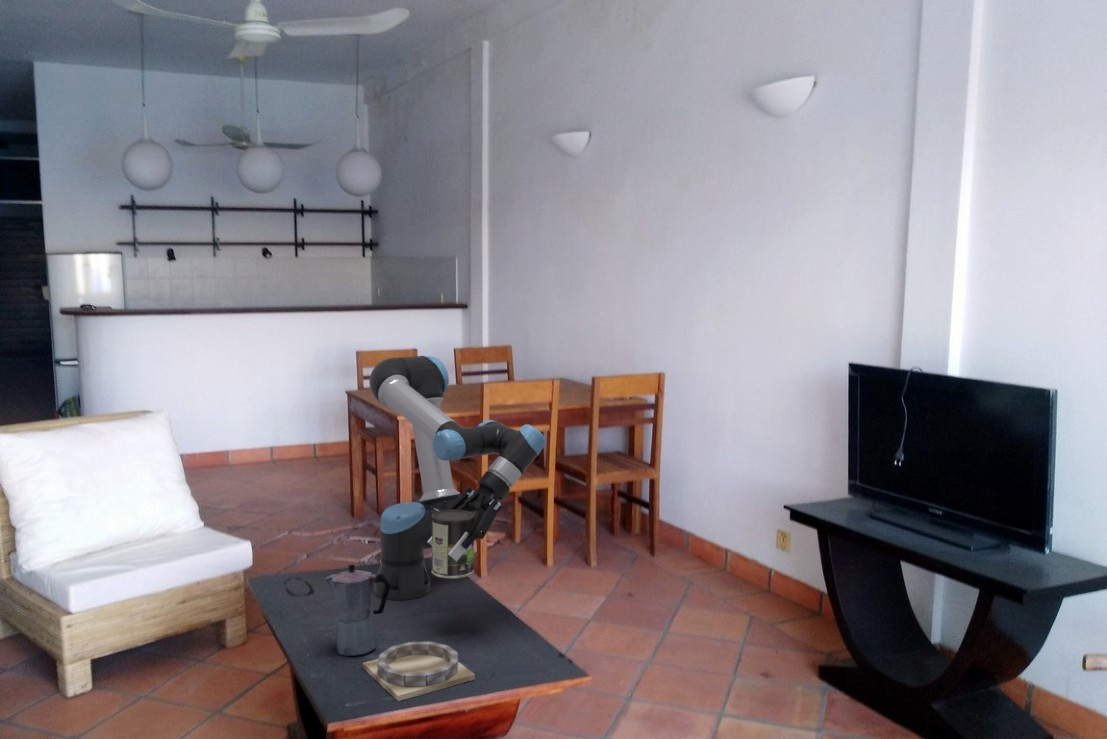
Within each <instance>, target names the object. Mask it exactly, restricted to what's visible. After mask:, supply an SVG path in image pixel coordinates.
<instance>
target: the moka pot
mask: <svg viewBox="0 0 1107 739" xmlns="http://www.w3.org/2000/svg"><path fill="white" fill-rule="evenodd" d="M347 567H348V568H347V569H348V570H346V571H341V572H339V573H335V574H329V576H327V577H325V579H324V581H326V582H327V583H328V586H329V588H330V589H331V592H332V593H333V595H334V600H335V605H336V611H337V617H338V626H337V640H336V641H337V642H336V652H337V653H338V654H339V655H341V656H345V657H349V656H350V657H351V656H352V657H354V656H360V655H365V654H368V653H370V652H371V651H373V650H375V649H376V642H375V638H374V632H373V626H372V621H371V604H372V591H373V584H375V583H379V582H383V583H384V584H385V587H384V591H383V595H382V597H381V599H380V605H379V606H378V609H373V610H372V614H373V615H379V614H383V613H384V608H385V607H386V602H387V600H388V599H387V596H388V593H389V590H390V583H389V582H388V580H387V579H385V577H384V576H383V574H378V573H377V574H378V575H377V574H374V573H372V572H371V571H368V570H367V571H365V570H361V569H360V570H359V569H356V570H355V568H356V564H349V565H348V566H347Z"/></svg>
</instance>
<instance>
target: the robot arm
mask: <svg viewBox="0 0 1107 739" xmlns="http://www.w3.org/2000/svg"><path fill="white" fill-rule="evenodd" d="M449 379H450V378H449V373H448V370H447V368H446V365H445V364H444V363H443V361H441V360H440V359H439V358H438V357H435V356H432V355H431V356H430V355H427V356H426V355H417V356H405V357H404V356H403V357H390V358H386V359H383V360H381V361H380V362H379V363H377V364H376V365H375V366H374V368H373V369H372V371H371V374H370V376H369V383H368V384H369V389H370V392H371V394H372V395H373V397H374V398H375V400H377V402H379V403H380V404H381V405H382V406H384V407H387V408H392V409H394V411H395V412H397V413H398V414H400V415H401V417H403V418H404V419H405V420H406V421H407V422H409V423H410V425H411V426H412V432H413V438H414V442H415V444H414V445H415V450H416V456H417V462H418V468H419V473H420V478H421V479H420V480H421V485H422V491H423V493H422V496H421V497H420V499H419V500H418V501H419V502H416V501H410V502H399V503H396V504H393V505H390V506H388V507H387V508H385V509H384V511H383V512H382V514H381V518H380V519H381V520H380V526H379V528H380V566H379V568H378V570H377V571H378V572H377V574H376V575H378V574H383V576H384V577H385V579H387V580H388V582H389V583H390V590H389V593H388V596H387V599H386V600H395V601H405V600H407V601H408V600H412V599H413V600H414V599H418V598H421V597H423V596H425V595H427V594H428V593H429V592H430V591H431V580H430V576H429V574H428V573H429V572H428V570H427V568H426V564H425V550H427V549H432V514H433V513H435V512H438V511H442V510H452V509H456V510H466V511H470V512H472V513H474V512H475V513H474V514H475V516H474V519H473V522H472V524H471V527H470V529H469V530H467V532H468V533H469V534H468V533H467V532H465V533H464V535H463V536H462V537H461V538H460V540H459V541H458V542H457V543H456V545H455V546H454V547H453V549H452V550H451V551H450V552H449V555H450V556H451V557H452V558H453V559H454V560H455V561H458V559H459V558H460V557H461V555H462V554H463V553H464V552H465V550H466V549H467V548H468V547H469V546H470V545H471V544H472V542H473V541H474V542H475V541H476V540H478V539H480V540H483V539H484V538H485V536H486V535H487V532H488V531H489V529H490V527H491V525H492V524H493V522H494V520H495V517H496V516H497V514H498V513H499V512H500V511H501V509H502V508H503V505H502V503H500V502H499V501H503V500H504V499H505V498H506V496H507V495H508V493H509V492H510V489H511V488H513V486H514V485H515V484H516V483H517V481H519V479H520V478H521V477H522V475H523V474H524V473H525V471H526V470H527V469H528V468H529V467H530V466H531V464H533V462H534V461H535V459H536V458H537V457H538V456H539V455H540V453H541V451H542V450H543V448H544V446H546V444H547V440H546V436H544V434H542V432H541V431H540V430H539V429H537V428H536V427H534V426H533V425H531V424H528V423H527V424H524V425H522V427H520V428H519V429H513V428H511V427H510V426H507V425H505V424H503V423H501V422H499V421H497V420H492V419H486V420H483V421H482V422H481V423H479V424H478V425H476V426H470V427H468V426H467V427H463V426H461V425H460V424H458V423H457V422H456V421H455V420H453V419H452V418H451V417H449V415H447V414H446V413H445V412H444V411H442V410H441V407H440V406H441V403H442V402H443V401H444V394H445V393H446V392H447V390H448V389H449V384H450V380H449ZM493 454H495V455H498V456H497V458H495V459H494V461H493V462H492V463H491V465H490V466H488V470H487V471H485V472H484V473H483V474H482V475H481V477H480V478H479V479H478V485H479V487H478V488H476V489H475V490H473V489H472V488H471V487H468V488H467V489H466V490H465V492H464V493H463V494H462V495H461V493H460V492H459V491H458V490H457V489H455V487H454V483H453V482H454V481H453V476H452V471H451V465H450V461H457V460H462V459H467V458H473V457H481V456H487V455H493ZM373 584H374V585H373V587H374V591H373V592H374V594H375V595H376V596H377V597H380V598H382V595H383V591H384V587H385V584H384V583H383V582H379V583H373Z"/></svg>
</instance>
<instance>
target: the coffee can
mask: <svg viewBox="0 0 1107 739" xmlns="http://www.w3.org/2000/svg"><path fill="white" fill-rule="evenodd" d="M474 516H475V513H474V512H470V511H466V510H456V509H452V510H442V511H438V512H435V513H433V514H432V548H431V574H432V575H433V576H435V577H438V578H442V579H450V580H451V579H452V580H453V579H462V578H466V577H469V576H471V575H473V574H474V571H475V569H474V566H475V564H474V563H475V562H474V561H475V560H474V558H475V540H474V541H473V542H472V544H471V545H470V546H469V547H468V548H467V549H466V550H465V552H464V553H463V554H462V555H461V557H460V558H459V559H458V561H455V560H454V559H453V558H452V557H451V556H450V555H449V552H450V551H451V550H452V549H453V547H454V546H455V545H456V543H457V542H458V541H459V540H460V538H461V537H462V536H463V535H464V533H465V532H467V530H469V529H470V527H471V524H472V522H473V519H474ZM467 533H468V532H467ZM468 534H469V533H468Z"/></svg>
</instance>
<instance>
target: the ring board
mask: <svg viewBox="0 0 1107 739" xmlns="http://www.w3.org/2000/svg"><path fill="white" fill-rule="evenodd" d="M458 657H459V653H458V652H457V651H456V650H455V649H454V648H452V647H451V646H449V645H446V644H443V643H438V642H434V641H411V642H405V643H400V644H397V645H392V646H390V647H389V648H387V649H385V650H384V651H383V652H381V653H380V654H379V656H378V658H376V659H373V660H368V661H365V662H362V669H363V670H364V671H365V672H366V673H368V674H369V675H370V676H371V678H373V679H374V680H375V681H376V683H378V684H379V685H380V686H381V687H382V688H383V689H384V690H385V691H386V690H387V691H386V692H387V693H389V694H390V695H391V697H393V698H394V700H396V701H397V702H400V701H404V700H408V699H412V698H414V697H415V698H416V697H418V696H422V695H425V694H429V693H432V692H437V691H440V690H443V689H447V688H450V687H453V686H457V685H460V684H464V682H465V683H468V682H471V681H474V680H476V674H475V673H474V672H473V671H472V670H470V669H469V668H467V667H466V666H465V665H464V664H463V663H461V662H460V661H459V658H458ZM467 681H468V682H467Z"/></svg>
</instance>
